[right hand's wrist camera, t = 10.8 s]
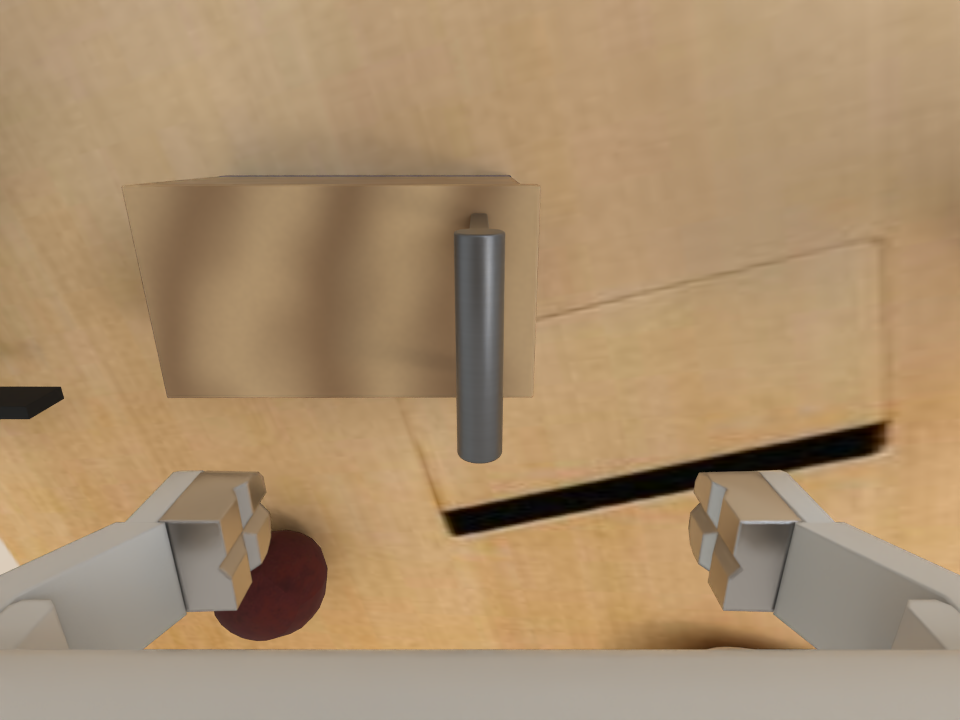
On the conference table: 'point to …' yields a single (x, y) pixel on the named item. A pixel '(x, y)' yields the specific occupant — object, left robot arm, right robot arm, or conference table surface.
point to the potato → (280, 589)
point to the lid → (344, 293)
